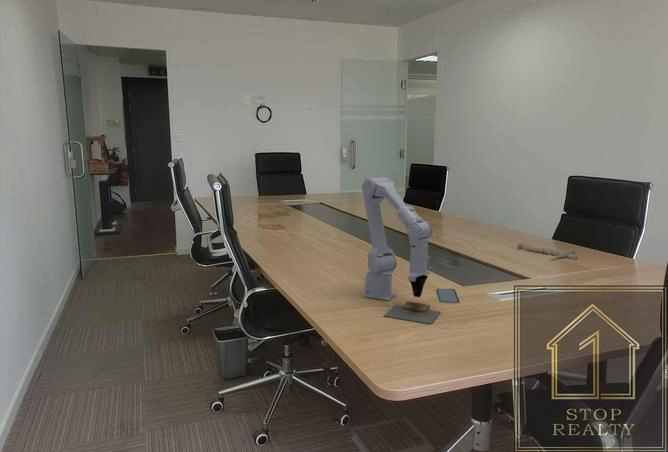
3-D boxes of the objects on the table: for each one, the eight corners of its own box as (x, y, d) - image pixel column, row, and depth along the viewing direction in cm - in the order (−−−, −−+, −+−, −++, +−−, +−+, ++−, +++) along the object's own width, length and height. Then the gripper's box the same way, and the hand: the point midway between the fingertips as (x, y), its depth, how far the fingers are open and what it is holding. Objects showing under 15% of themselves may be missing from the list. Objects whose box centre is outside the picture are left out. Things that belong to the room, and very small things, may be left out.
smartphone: (439, 302, 179) (435, 288, 193) (439, 304, 179) (435, 290, 193) (460, 302, 178) (455, 289, 192) (460, 305, 178) (455, 291, 192)
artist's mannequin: (505, 254, 256) (563, 268, 234) (506, 246, 255) (564, 259, 233) (532, 245, 274) (588, 257, 252) (533, 238, 273) (589, 249, 251)
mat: (383, 316, 164) (383, 315, 164) (395, 305, 175) (395, 304, 175) (431, 324, 158) (431, 323, 158) (440, 312, 168) (440, 311, 168)
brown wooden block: (407, 305, 174) (401, 310, 169) (407, 301, 174) (402, 306, 169) (429, 309, 171) (425, 314, 165) (429, 304, 170) (425, 310, 165)
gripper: (424, 263, 159) (422, 304, 162) (436, 254, 172) (434, 292, 175) (403, 261, 162) (402, 301, 165) (416, 252, 175) (414, 289, 178)
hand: (417, 296), depth 170 cm, fingers closed
